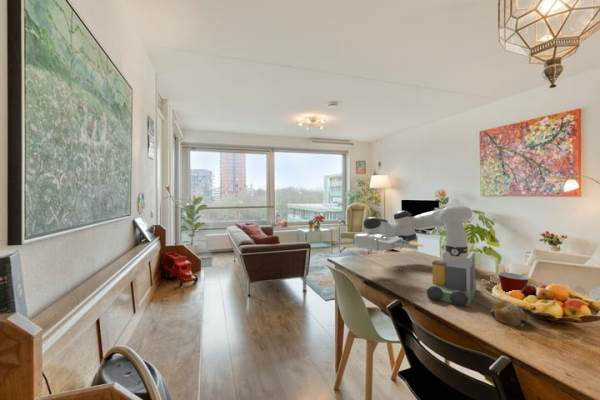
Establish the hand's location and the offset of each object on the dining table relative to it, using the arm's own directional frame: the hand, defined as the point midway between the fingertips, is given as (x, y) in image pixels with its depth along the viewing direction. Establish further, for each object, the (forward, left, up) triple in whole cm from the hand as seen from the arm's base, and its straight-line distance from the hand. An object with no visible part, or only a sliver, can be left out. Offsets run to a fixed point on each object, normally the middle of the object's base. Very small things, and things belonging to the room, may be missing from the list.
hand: (406, 244), depth 140 cm
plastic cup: (-1, +44, -21) cm, 48 cm away
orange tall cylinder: (+3, +16, -20) cm, 26 cm away
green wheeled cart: (+3, +22, -20) cm, 30 cm away
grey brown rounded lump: (+20, +42, -21) cm, 51 cm away
